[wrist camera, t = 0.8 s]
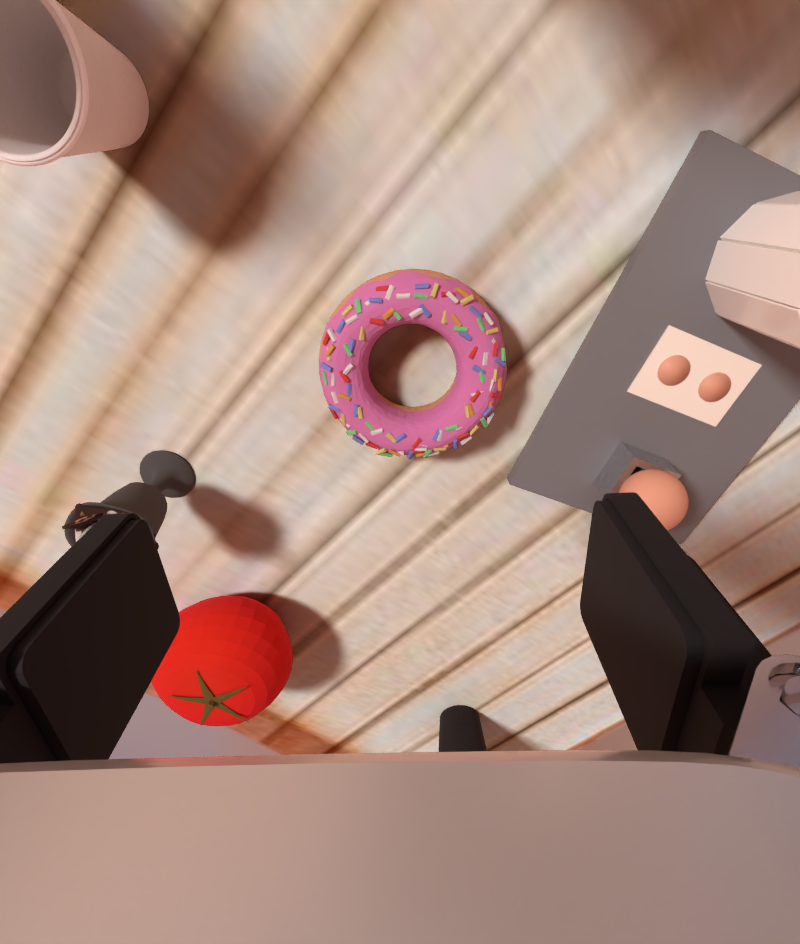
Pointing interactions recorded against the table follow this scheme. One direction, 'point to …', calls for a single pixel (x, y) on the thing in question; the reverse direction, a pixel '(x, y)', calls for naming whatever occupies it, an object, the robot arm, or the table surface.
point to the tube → (761, 270)
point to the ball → (660, 495)
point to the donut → (437, 308)
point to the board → (671, 353)
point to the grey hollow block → (628, 467)
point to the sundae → (138, 495)
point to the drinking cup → (460, 730)
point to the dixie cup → (63, 87)
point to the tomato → (225, 661)
